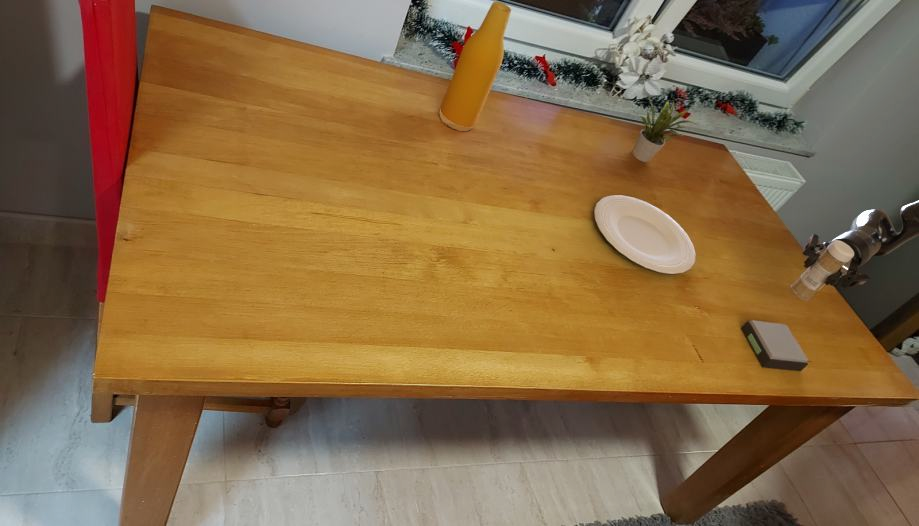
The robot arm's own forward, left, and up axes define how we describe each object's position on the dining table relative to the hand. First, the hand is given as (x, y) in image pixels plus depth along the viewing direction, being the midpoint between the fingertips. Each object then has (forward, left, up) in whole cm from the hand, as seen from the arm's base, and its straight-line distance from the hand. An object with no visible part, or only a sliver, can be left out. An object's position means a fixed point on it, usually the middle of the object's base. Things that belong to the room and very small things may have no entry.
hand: (818, 272), depth 133 cm
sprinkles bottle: (-2, -1, -8) cm, 8 cm away
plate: (+21, -23, -18) cm, 36 cm away
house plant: (+7, -56, -18) cm, 59 cm away
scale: (+1, +6, -17) cm, 18 cm away
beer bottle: (+61, -55, -18) cm, 84 cm away
